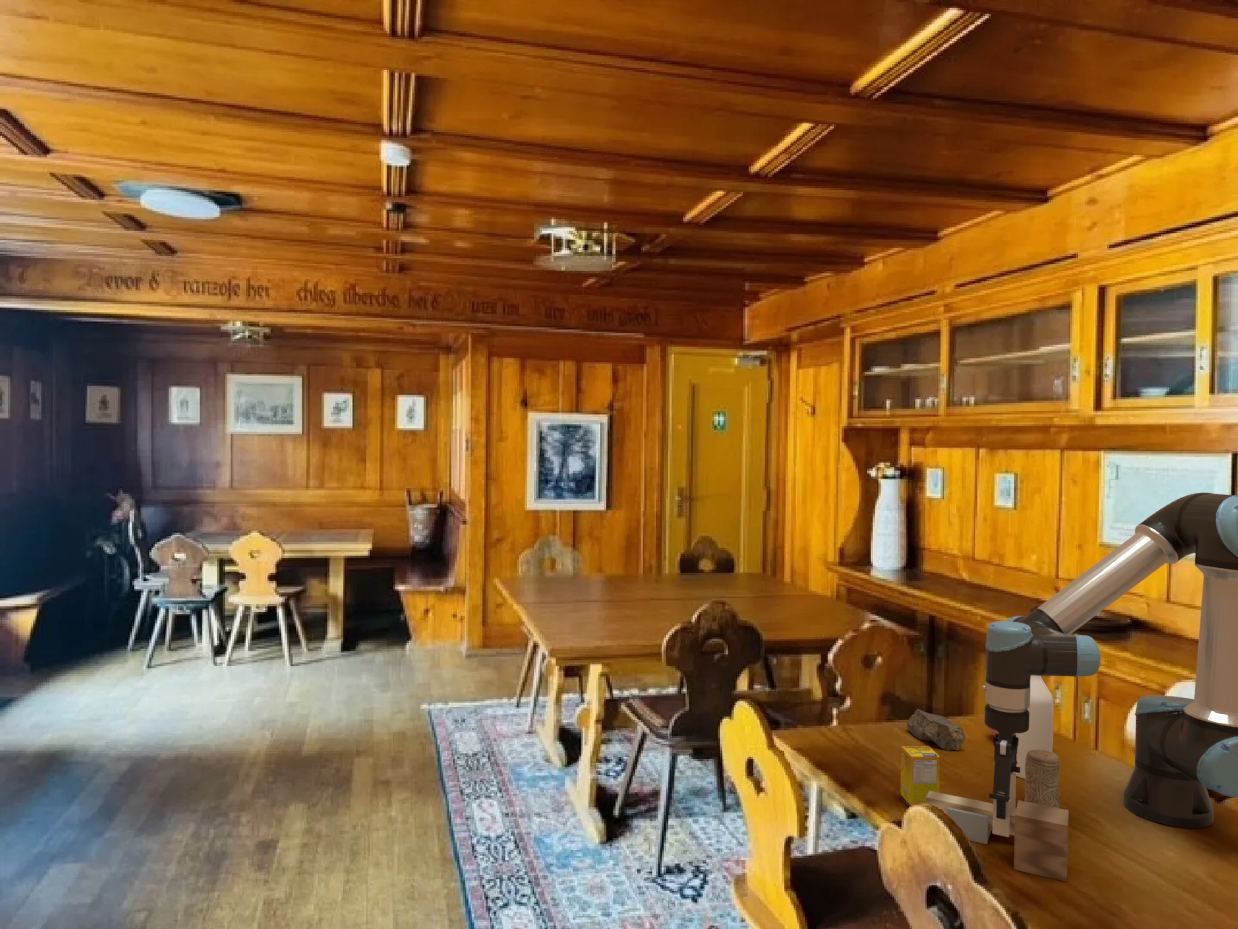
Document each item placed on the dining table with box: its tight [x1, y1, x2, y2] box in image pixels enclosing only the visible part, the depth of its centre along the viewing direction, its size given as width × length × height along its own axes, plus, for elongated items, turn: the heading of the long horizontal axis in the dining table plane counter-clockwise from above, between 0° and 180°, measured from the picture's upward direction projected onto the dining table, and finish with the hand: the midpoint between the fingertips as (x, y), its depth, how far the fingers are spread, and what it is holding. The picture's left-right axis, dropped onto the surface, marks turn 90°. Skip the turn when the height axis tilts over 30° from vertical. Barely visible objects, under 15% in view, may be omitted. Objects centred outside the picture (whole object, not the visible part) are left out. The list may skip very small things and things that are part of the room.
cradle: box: [947, 796, 993, 845], centre depth 158 cm, size 7×7×5 cm
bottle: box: [1013, 675, 1054, 780], centre depth 186 cm, size 8×8×30 cm
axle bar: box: [926, 791, 1017, 837], centre depth 158 cm, size 16×4×4 cm, turn 60°
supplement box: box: [900, 745, 941, 807], centre depth 171 cm, size 6×6×11 cm
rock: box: [906, 708, 966, 751], centre depth 207 cm, size 17×7×10 cm
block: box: [1013, 799, 1070, 882], centre depth 145 cm, size 8×7×10 cm
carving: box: [1024, 750, 1061, 808], centre depth 167 cm, size 6×8×12 cm
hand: (1004, 820), depth 155 cm, fingers open, 13 cm apart
